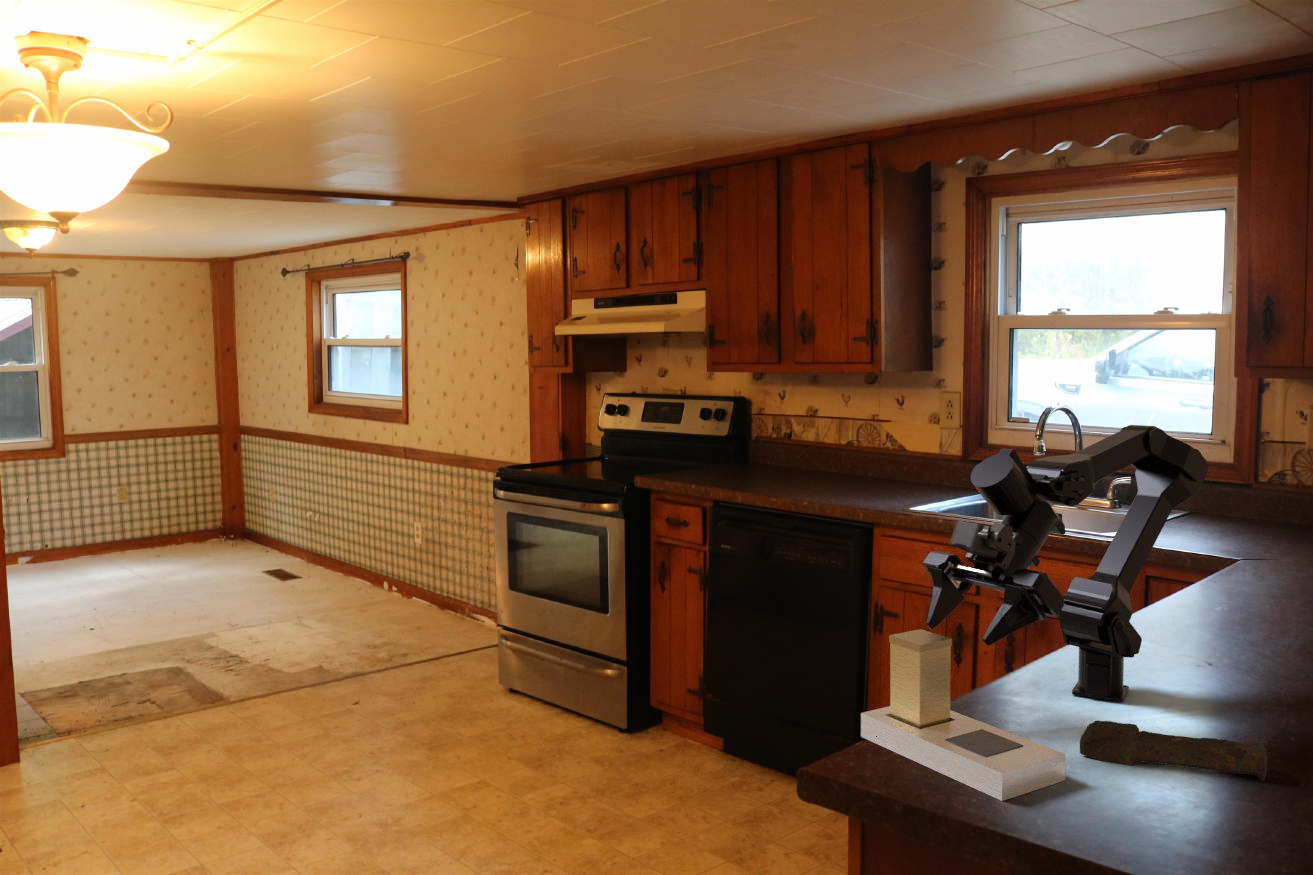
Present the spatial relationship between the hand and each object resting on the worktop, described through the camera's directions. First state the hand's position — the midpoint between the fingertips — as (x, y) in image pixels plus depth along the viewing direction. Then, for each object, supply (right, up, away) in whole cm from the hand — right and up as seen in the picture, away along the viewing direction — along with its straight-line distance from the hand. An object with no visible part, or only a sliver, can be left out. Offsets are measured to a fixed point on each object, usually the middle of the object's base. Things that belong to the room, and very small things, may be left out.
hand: (956, 634), depth 127 cm
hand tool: (+21, -13, -11) cm, 27 cm away
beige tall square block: (-5, -13, -2) cm, 14 cm away
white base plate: (-2, -13, -7) cm, 15 cm away
